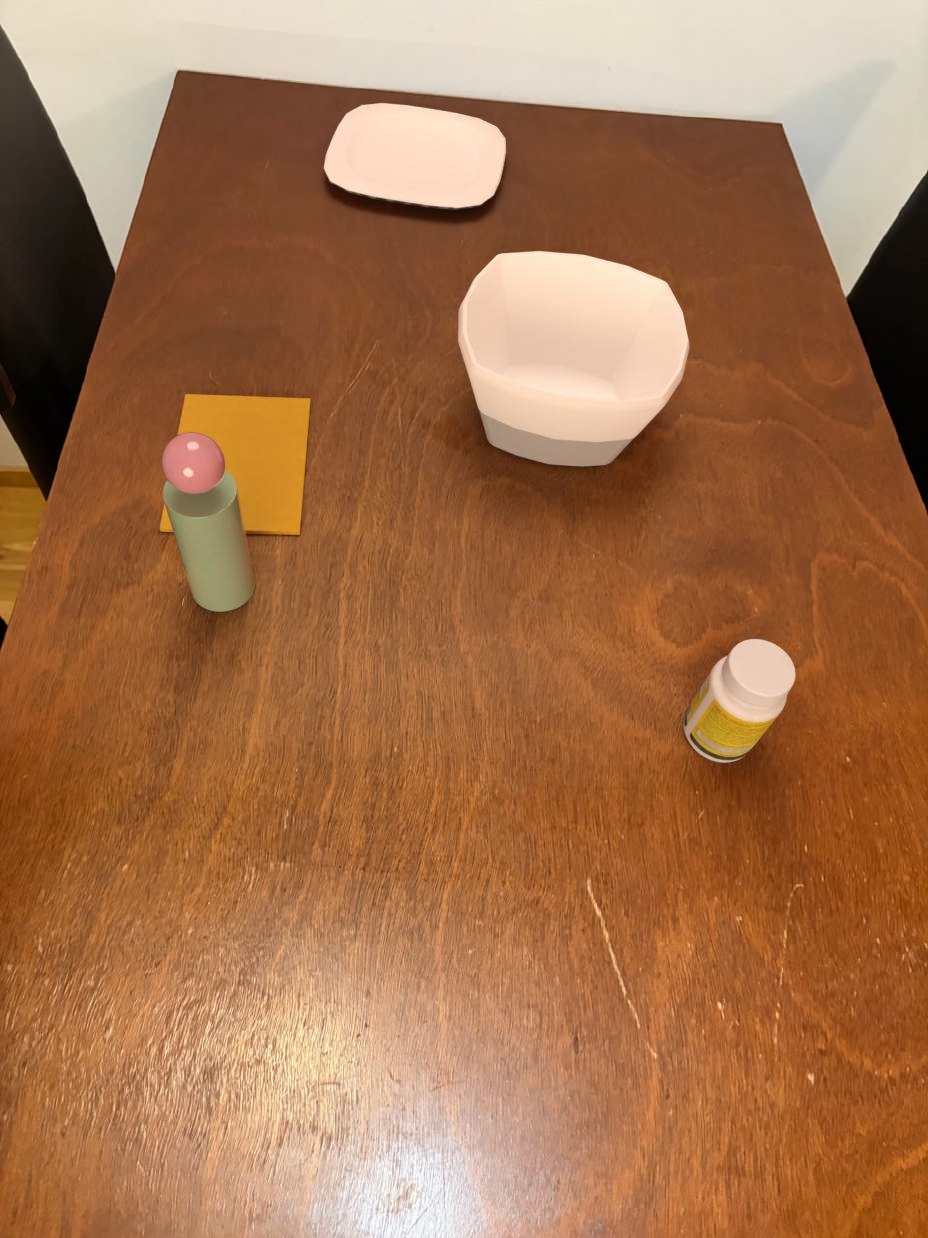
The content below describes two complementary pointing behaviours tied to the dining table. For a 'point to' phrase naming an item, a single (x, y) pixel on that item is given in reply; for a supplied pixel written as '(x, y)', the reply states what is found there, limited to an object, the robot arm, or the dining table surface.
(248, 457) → the cloth
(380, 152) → the plate
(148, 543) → the dining table surface
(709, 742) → the supplement bottle
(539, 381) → the bowl
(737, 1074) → the dining table surface
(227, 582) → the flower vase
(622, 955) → the dining table surface
